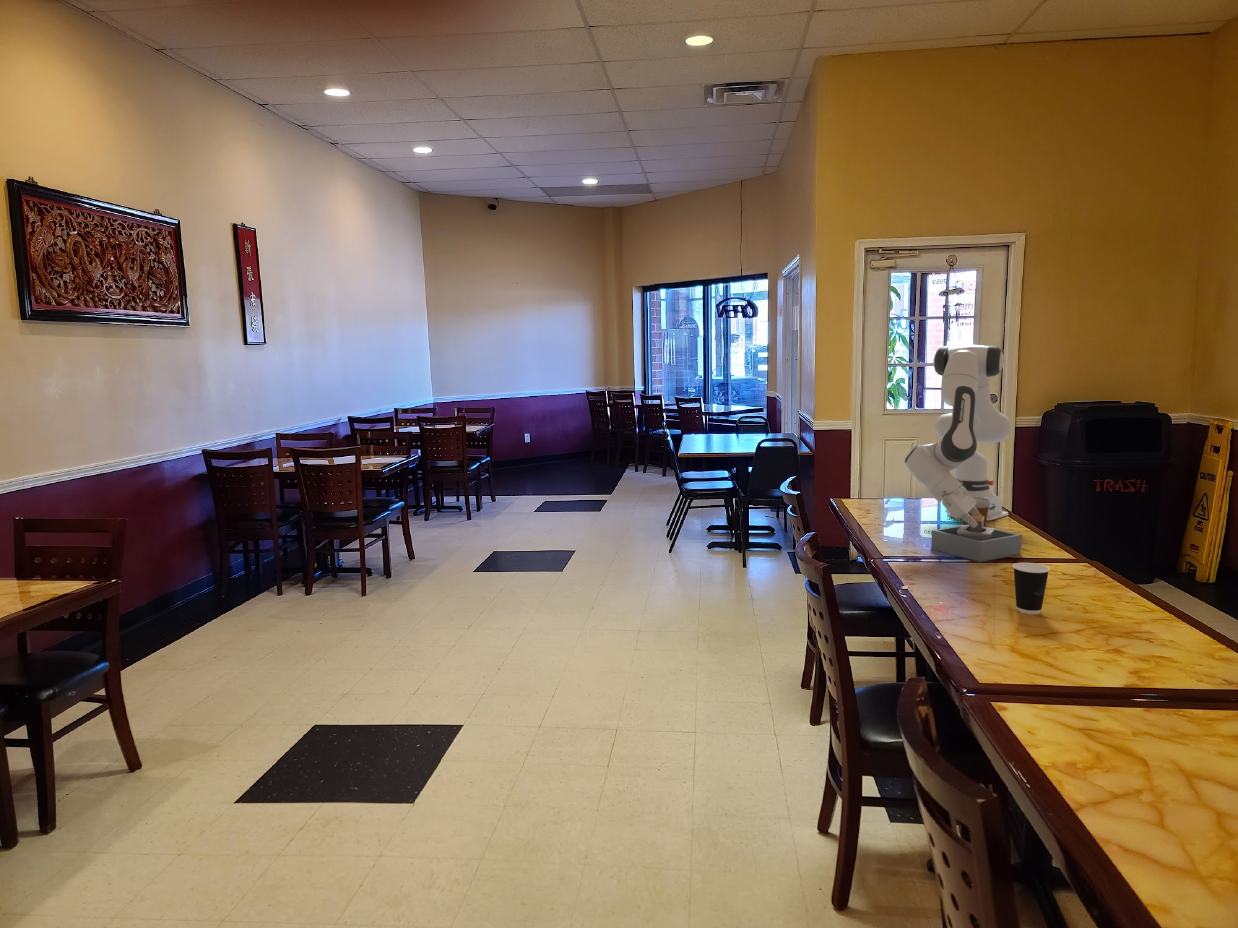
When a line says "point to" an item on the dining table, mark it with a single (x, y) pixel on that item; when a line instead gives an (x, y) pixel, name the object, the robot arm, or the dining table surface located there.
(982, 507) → the disposable coffee cup
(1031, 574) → the dixie cup
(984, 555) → the walled box
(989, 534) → the inlet socket
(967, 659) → the dining table surface
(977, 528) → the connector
